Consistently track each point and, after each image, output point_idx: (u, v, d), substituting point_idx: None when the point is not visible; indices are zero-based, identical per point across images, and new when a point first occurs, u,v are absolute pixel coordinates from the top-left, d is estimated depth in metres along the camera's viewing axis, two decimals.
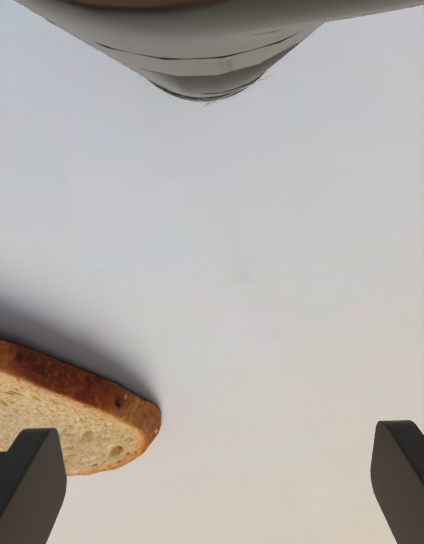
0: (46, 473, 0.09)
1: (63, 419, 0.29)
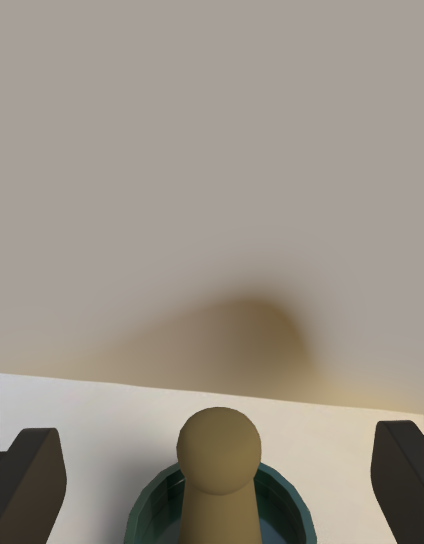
0: (47, 472, 0.09)
1: None
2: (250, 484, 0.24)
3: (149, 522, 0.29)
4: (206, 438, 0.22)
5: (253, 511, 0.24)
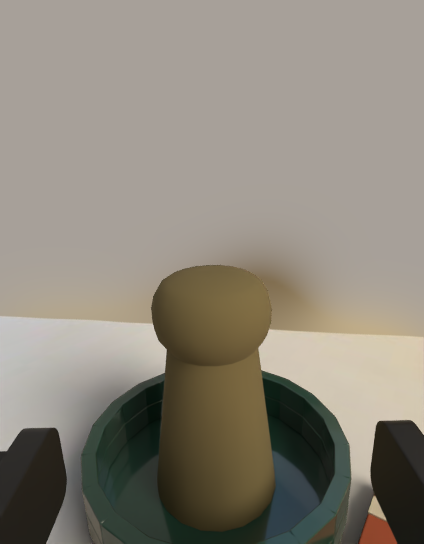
0: (47, 472, 0.09)
1: None
2: (256, 360, 0.17)
3: (122, 444, 0.22)
4: (193, 282, 0.15)
5: (261, 402, 0.17)
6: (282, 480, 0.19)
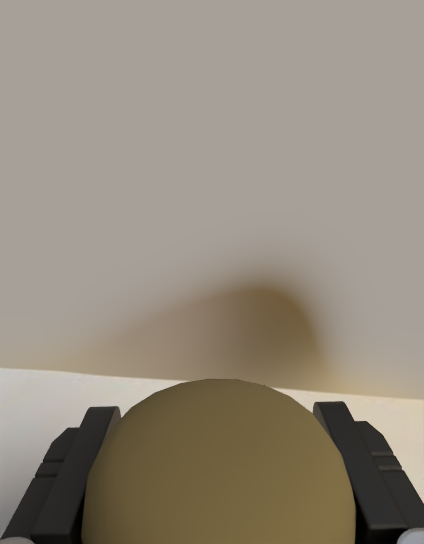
0: None
1: None
2: None
3: None
4: (175, 471, 0.06)
5: None
6: None
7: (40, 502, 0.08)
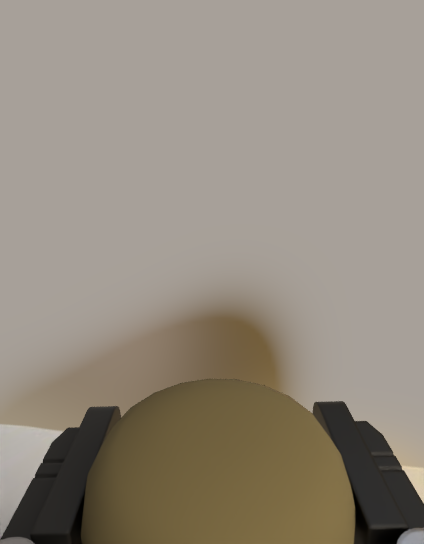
0: None
1: None
2: None
3: None
4: (174, 471, 0.06)
5: None
6: None
7: (39, 502, 0.08)
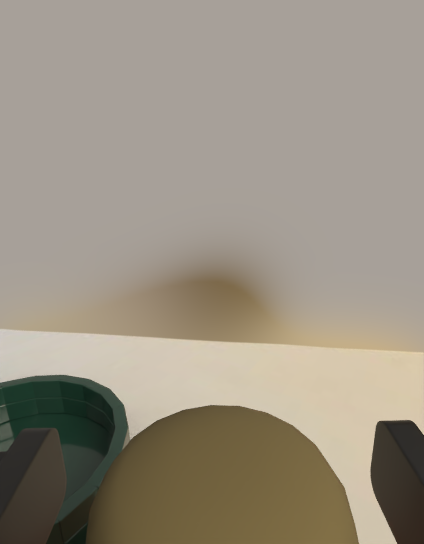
0: (47, 473, 0.09)
1: None
2: None
3: None
4: (176, 512, 0.06)
5: None
6: (71, 487, 0.20)
7: None
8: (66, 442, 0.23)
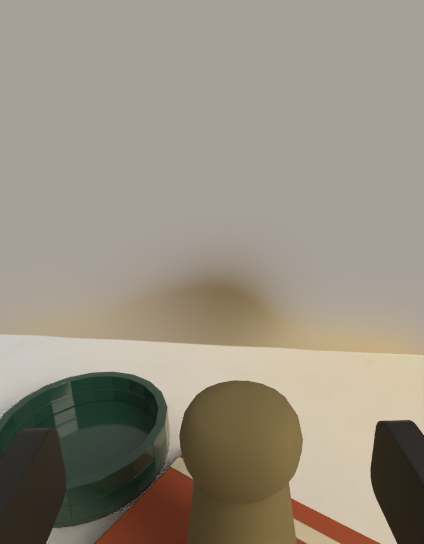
0: (47, 473, 0.09)
1: None
2: (286, 488, 0.16)
3: (29, 427, 0.31)
4: (223, 419, 0.15)
5: (291, 527, 0.17)
6: (128, 449, 0.29)
7: None
8: (119, 420, 0.32)
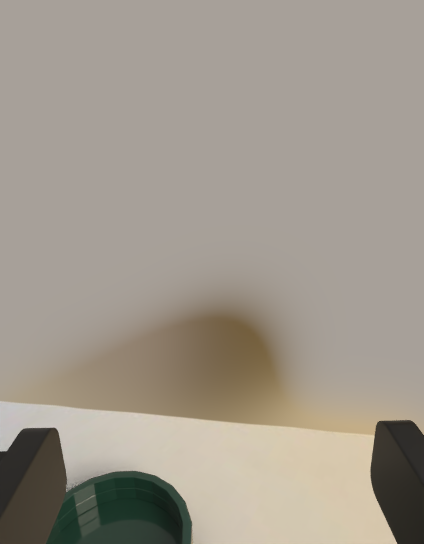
0: (47, 473, 0.09)
1: None
2: None
3: (55, 535, 0.32)
4: None
5: None
6: None
7: None
8: (143, 526, 0.33)
